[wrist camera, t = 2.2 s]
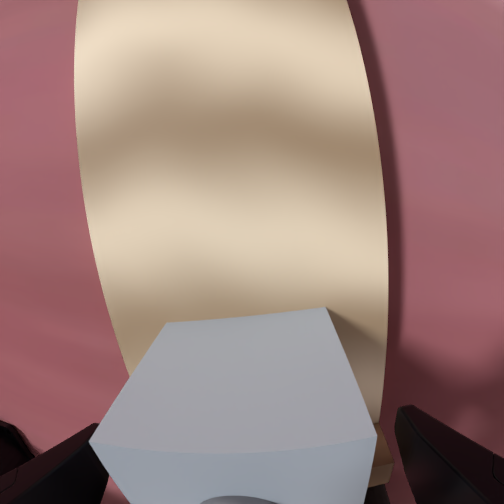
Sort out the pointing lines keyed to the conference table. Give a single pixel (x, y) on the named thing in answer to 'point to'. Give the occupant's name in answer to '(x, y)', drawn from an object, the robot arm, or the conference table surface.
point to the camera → (376, 495)
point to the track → (234, 171)
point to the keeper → (241, 416)
